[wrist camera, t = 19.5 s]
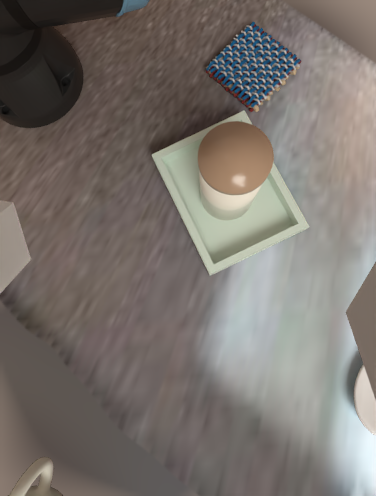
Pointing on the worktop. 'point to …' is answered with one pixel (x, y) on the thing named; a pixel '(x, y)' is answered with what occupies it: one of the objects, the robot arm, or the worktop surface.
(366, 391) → the spoon
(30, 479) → the pitcher
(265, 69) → the woven mat
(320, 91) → the worktop surface
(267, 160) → the canister
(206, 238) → the tray
